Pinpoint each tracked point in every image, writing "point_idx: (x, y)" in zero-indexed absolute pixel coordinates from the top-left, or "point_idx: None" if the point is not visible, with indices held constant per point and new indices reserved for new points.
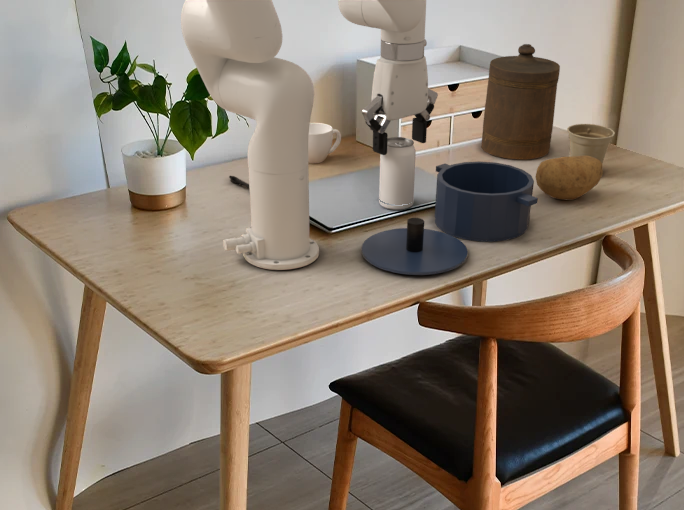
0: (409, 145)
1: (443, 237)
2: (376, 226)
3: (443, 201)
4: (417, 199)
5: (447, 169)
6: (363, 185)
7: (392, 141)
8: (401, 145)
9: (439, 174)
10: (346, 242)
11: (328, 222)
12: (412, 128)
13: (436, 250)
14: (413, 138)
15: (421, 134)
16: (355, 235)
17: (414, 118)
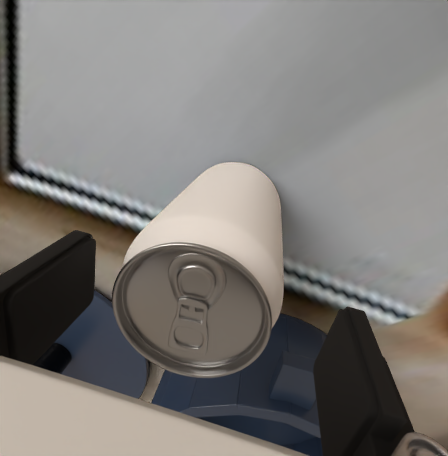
0: (180, 374)
1: (129, 373)
2: (101, 237)
3: (154, 398)
4: (300, 232)
5: (248, 415)
6: (312, 23)
7: (197, 275)
8: (172, 337)
9: (191, 413)
10: (4, 231)
11: (33, 135)
12: (354, 352)
13: (82, 380)
14: (337, 320)
15: (320, 394)
16: (38, 227)
17: (384, 423)
